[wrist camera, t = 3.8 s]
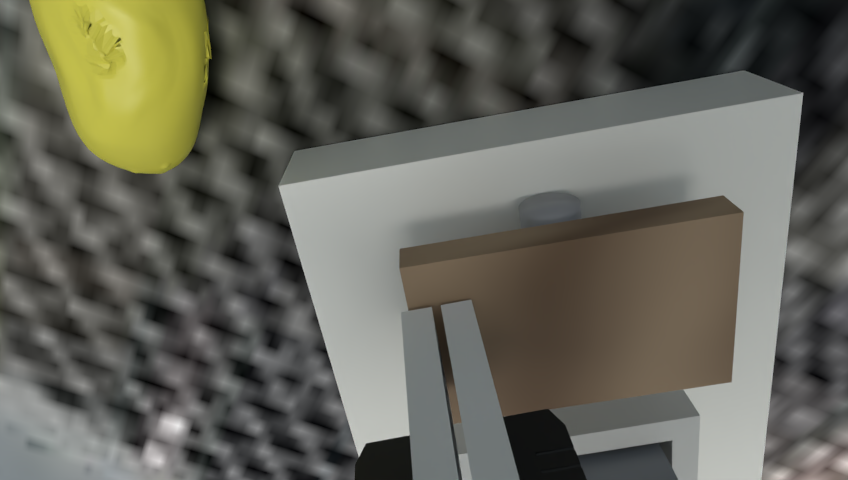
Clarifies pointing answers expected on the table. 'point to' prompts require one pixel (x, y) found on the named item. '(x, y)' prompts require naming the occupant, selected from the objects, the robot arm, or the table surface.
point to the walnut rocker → (592, 303)
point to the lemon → (130, 75)
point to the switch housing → (546, 204)
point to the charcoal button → (628, 464)
